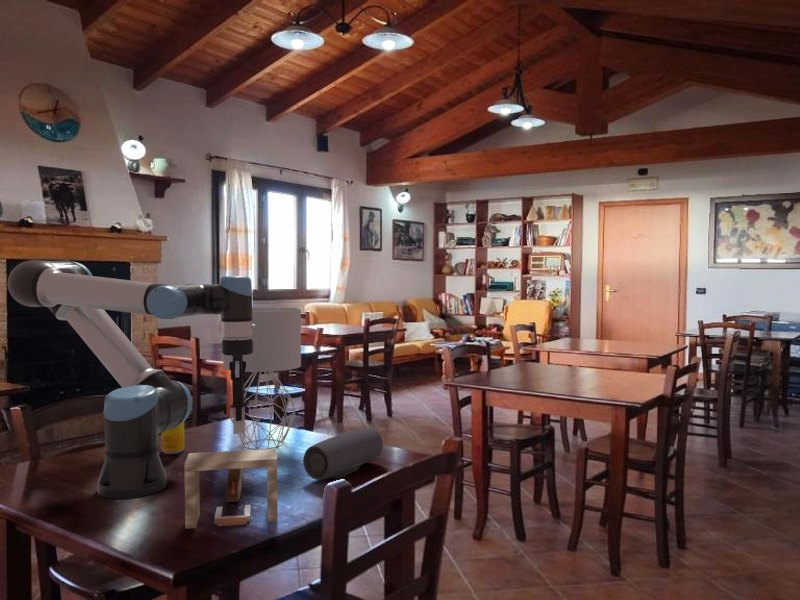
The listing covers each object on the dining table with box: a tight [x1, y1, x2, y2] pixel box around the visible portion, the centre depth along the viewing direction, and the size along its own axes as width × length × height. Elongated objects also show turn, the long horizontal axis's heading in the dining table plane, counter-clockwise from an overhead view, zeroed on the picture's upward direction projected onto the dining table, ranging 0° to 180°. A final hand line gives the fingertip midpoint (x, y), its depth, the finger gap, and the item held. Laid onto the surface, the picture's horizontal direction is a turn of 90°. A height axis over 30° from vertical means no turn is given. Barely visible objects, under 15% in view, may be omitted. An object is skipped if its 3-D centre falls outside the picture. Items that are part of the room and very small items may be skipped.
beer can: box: [161, 421, 185, 455], centre depth 189 cm, size 6×6×15 cm
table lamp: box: [222, 306, 302, 450], centre depth 196 cm, size 22×22×40 cm
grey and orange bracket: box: [213, 504, 252, 527], centre depth 138 cm, size 7×8×2 cm
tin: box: [225, 468, 244, 503], centre depth 152 cm, size 15×3×8 cm, turn 9°
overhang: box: [184, 448, 278, 530], centre depth 138 cm, size 18×8×13 cm, turn 101°
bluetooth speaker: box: [302, 427, 384, 481], centre depth 169 cm, size 23×9×10 cm, turn 148°
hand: (239, 432), depth 166 cm, fingers closed
